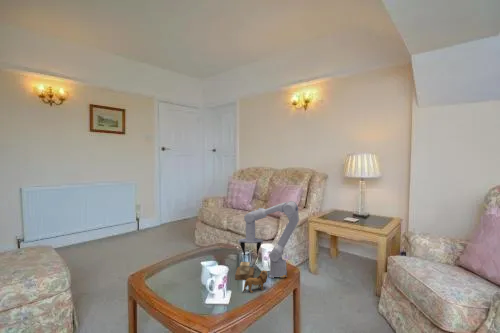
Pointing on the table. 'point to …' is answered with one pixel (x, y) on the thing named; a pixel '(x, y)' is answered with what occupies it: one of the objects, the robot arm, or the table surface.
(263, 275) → the lion figurine
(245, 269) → the maple cube
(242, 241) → the robot arm
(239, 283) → the table surface
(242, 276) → the walnut block
